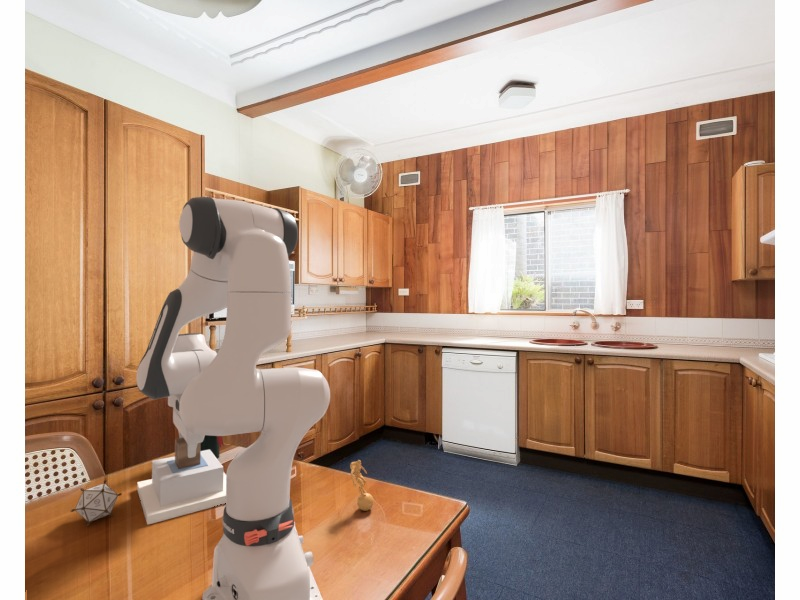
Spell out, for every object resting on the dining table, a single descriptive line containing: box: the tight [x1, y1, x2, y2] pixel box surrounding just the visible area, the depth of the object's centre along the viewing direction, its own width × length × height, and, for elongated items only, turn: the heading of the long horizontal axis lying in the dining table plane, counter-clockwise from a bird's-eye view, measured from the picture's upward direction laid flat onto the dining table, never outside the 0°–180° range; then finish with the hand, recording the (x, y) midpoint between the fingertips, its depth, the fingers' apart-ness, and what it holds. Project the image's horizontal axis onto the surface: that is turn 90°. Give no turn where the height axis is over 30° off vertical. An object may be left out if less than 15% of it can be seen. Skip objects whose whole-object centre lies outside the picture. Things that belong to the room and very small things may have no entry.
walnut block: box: [174, 438, 201, 469], centre depth 110 cm, size 5×5×6 cm
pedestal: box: [136, 449, 226, 526], centre depth 111 cm, size 20×20×8 cm
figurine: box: [349, 459, 375, 512], centre depth 106 cm, size 8×6×12 cm
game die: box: [70, 479, 123, 527], centre depth 99 cm, size 9×8×10 cm
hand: (187, 450), depth 110 cm, fingers open, 8 cm apart
